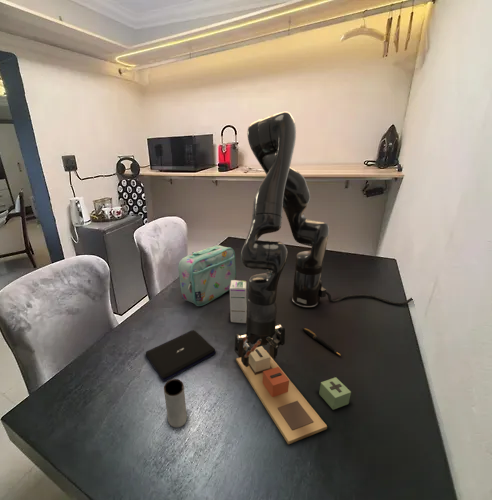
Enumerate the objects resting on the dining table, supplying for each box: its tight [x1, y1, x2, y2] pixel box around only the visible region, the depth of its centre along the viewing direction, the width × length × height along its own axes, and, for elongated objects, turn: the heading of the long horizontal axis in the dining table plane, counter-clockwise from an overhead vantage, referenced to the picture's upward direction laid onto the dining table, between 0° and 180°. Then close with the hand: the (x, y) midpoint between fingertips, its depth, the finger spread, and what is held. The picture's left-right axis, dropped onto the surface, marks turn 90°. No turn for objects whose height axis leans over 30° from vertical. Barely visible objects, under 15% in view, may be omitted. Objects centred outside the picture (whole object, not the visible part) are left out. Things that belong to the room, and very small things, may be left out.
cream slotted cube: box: [249, 345, 271, 372], centre depth 74 cm, size 5×5×4 cm
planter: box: [163, 378, 188, 429], centre depth 61 cm, size 4×4×10 cm
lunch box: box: [177, 244, 237, 307], centre depth 110 cm, size 27×10×21 cm, turn 131°
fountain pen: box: [302, 328, 341, 356], centre depth 83 cm, size 14×1×2 cm, turn 26°
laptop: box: [145, 329, 217, 382], centre depth 82 cm, size 16×20×2 cm
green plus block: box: [318, 376, 352, 411], centre depth 64 cm, size 5×5×4 cm
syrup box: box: [229, 279, 248, 324], centre depth 95 cm, size 6×6×14 cm
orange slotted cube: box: [263, 366, 290, 397], centre depth 67 cm, size 5×5×4 cm
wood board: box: [235, 349, 328, 445], centre depth 68 cm, size 10×25×1 cm, turn 17°
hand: (259, 360), depth 75 cm, fingers open, 8 cm apart
